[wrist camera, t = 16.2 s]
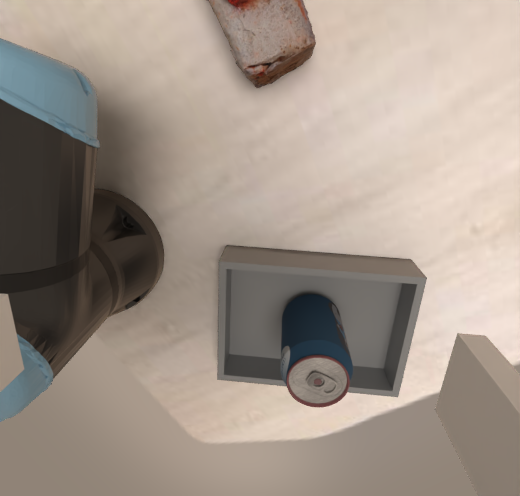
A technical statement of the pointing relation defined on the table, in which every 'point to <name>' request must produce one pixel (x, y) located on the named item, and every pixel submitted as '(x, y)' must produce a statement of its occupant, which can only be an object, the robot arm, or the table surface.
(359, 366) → the bin
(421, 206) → the table surface
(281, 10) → the food item
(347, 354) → the soda can
